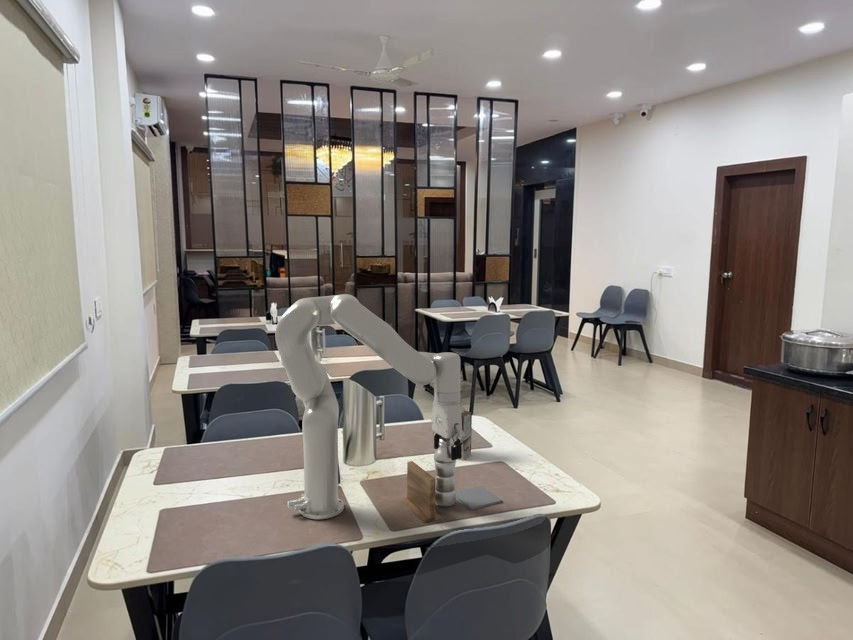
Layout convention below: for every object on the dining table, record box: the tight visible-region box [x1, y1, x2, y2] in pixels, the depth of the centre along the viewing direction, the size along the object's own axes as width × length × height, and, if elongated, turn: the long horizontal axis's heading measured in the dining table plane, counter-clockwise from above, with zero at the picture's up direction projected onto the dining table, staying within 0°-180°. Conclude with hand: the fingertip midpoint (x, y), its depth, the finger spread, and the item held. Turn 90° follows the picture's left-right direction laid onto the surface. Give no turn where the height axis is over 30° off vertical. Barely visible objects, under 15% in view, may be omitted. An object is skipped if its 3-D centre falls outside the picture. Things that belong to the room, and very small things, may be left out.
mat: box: [456, 485, 503, 511], centre depth 168 cm, size 11×11×1 cm
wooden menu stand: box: [401, 460, 441, 523], centre depth 160 cm, size 5×14×12 cm, turn 28°
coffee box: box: [453, 409, 473, 461], centre depth 201 cm, size 9×6×16 cm
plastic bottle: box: [433, 437, 457, 507], centre depth 163 cm, size 6×7×20 cm
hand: (447, 453), depth 162 cm, fingers open, 9 cm apart
